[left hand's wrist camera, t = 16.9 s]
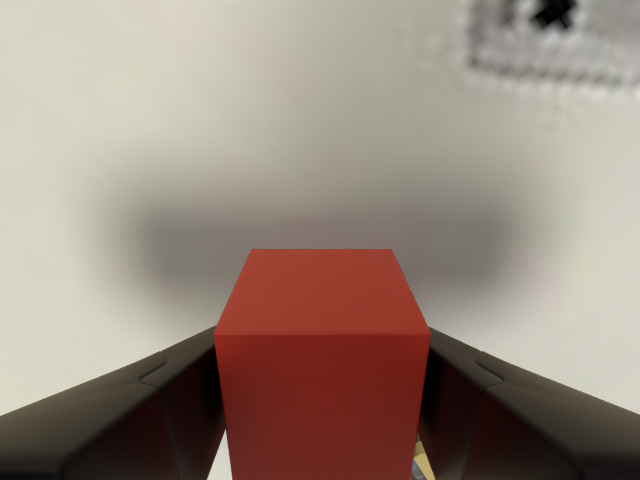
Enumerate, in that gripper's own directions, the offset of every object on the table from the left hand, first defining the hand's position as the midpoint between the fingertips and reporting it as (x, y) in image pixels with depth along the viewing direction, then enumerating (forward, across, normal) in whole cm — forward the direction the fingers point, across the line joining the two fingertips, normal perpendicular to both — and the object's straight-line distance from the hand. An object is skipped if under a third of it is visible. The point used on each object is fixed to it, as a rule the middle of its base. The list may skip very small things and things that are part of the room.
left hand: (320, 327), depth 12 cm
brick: (+1, 0, 0) cm, 1 cm away
